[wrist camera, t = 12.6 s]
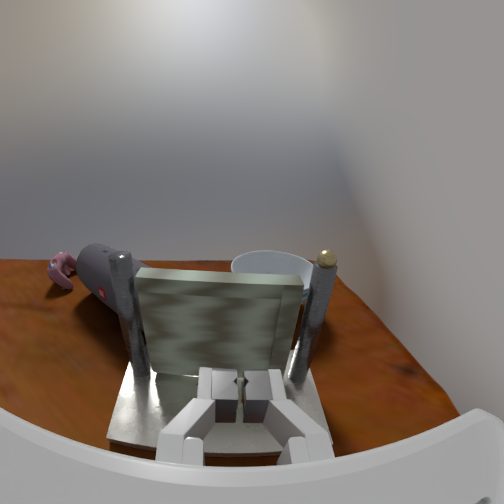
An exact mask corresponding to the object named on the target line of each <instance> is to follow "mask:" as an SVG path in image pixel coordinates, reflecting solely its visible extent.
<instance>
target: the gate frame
mask: <svg viewBox="0 0 504 504" xmlns="http://www.w3.org/2000/svg"><path fill="white" fill-rule="evenodd" d="M108 262H109V268H110V275H111V281H112V287H113V292H114V297H115V303H116V307H117V312H118V317H119V321H120V326H121V330H122V334H123V338H124V342H125V346H126V349H127V353H128V357H129V360H130V362H129V365H128V368H127V371H126V374H125V377H124V380H123V383H122V386H121V389H120V392H119V395H118V399H117V402H116V405H115V408H114V412H113V415H112V419H111V422H110V426H109V429H108V433H107V437H106V438H107V439H108V441H109V442H110V443H114V444H118V445H123V446H128V447H133V448H138V449H144V450H150V451H157V444H158V437H159V432H160V431H162V430H163V429H164V428H165V427H166V426H167V425H168V424H169V423H170V422H171V421H172V420H173V419H174V418H175V417H176V415H177V414H178V413H179V412H180V411H181V410H182V409H183V408H184V407H185V406H186V405H187V404H188V403H189V402H190V401H191V400H192V399H193V398H197V390H198V378H199V376H187V375H176V374H166V373H157V372H153V371H152V366H151V362H150V357H149V353H148V348H147V344H145V342H144V337H143V332H142V326H141V321H140V315H139V309H138V303H137V296H136V289H135V282H134V274H133V265H132V257H131V253H130V252H127V251H117V252H114V253H111V254H110V255H109V256H108ZM336 263H337V257H336V255H335V253H334V252H333V251H331V250H323V251H321V252H320V253H319V254H318V256H317V261H315V262H314V265H313V270H312V275H311V280H310V285H309V289H308V294H307V299H306V303H305V308H304V312H303V317H302V321H301V325H300V329H299V334H298V338H297V342H296V346H295V350H290V353H289V357H288V361H287V365H286V369H285V373H284V377H283V383H284V388H285V393H286V397H287V399H291V400H292V401H293V402H294V403H295V404H296V405H297V406H298V407H299V408H300V409H301V410H303V411H304V412H305V413H306V414H307V415H308V416H309V417H310V418H312V419H313V420H314V421H315V422H316V423H317V424H318V425H320V426H321V427H322V428H323V429H324V430H325V431H327V432H328V435H329V438H330V442H331V445H333V441H332V438H331V435H330V431H329V428H328V425H327V422H326V418H325V415H324V412H323V409H322V405H321V402H320V399H319V396H318V393H317V390H316V386H315V383H314V380H313V377H312V374H311V371H310V368H309V367H310V364H311V361H312V358H313V355H314V352H315V349H316V346H317V342H318V339H319V336H320V332H321V329H322V325H323V322H324V318H325V315H326V311H327V307H328V304H329V300H330V296H331V292H332V288H333V284H334V280H335V276H336V272H337V266H336ZM242 381H243V378H237V386H238V408H237V410H236V412H237V416H236V423H215V425H214V426H213V427H212V429H211V430H210V431H209V433H208V434H207V435H206V437H205V438H204V439H203V446H204V456H208V457H260V456H276V455H281V453H282V451H283V448H282V446H281V445H280V444H279V443H278V442H277V441H276V439H275V438H274V437H273V436H272V435H271V433H270V432H269V431H268V430H267V429H266V427H265V426H264V425H263V423H243V422H242V404H243V403H242V402H241V382H242Z"/></svg>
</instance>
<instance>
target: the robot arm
mask: <svg viewBox="0 0 504 504" xmlns="http://www.w3.org/2000/svg"><path fill="white" fill-rule="evenodd" d="M242 377H243V381H242V382H241V402H242V403H243V404H242V422H243V423H263V425H264V426H265V427H266V429H267V430H268V431H269V432H270V433H271V435H272V436H273V437H274V438H275V439H276V441H277V442H278V443H279V444H280V445H281V446H282V448H283V451H282V453H281V455H280V457H279V459H278V460H277V462H276V463H277V465H276V466H258V467H215V466H205V457H204V446H203V439H204V438H205V437H206V435H207V434H208V433H209V431H210V430H211V429H212V427H213V426H214V425H215V423H236V416H237V412H236V410H237V408H238V386H237V369H221V368H213V370H212V368H207V367H200V369H199V378H198V390H197V398H193V399H192V400H191V401H190V402H189V403H188V404H187V405H186V406H185V407H184V408H183V409H182V410H181V411H180V412H179V413H178V414H177V415H176V417H175V418H174V419H173V420H172V421H171V422H170V423H169V424H168V425H167V426H166V427H165V428H164V429H163V430H162V431H160V432H159V437H158V444H157V451H156V458H155V460H149V459H143V458H138V457H133V456H128V455H124V454H119V453H115V452H111V451H107V450H103V449H100V448H96V447H93V446H89V445H86V444H83V443H80V442H77V441H74V440H71V439H68V438H66V437H63V436H60V435H57V434H55V433H52V432H50V431H47V430H45V429H43V428H40V427H38V426H36V425H34V424H31V423H29V422H27V421H25V420H23V419H21V418H19V417H17V416H15V415H13V414H11V413H9V412H7V411H5V410H4V409H2V408H0V504H504V423H503V422H502V421H501V420H500V419H499V418H498V417H496V416H494V415H492V414H490V413H488V412H486V411H484V410H481V409H473V410H471V411H469V412H467V413H465V414H464V415H461V416H459V417H457V418H455V419H453V420H451V421H449V422H447V423H445V424H442V425H440V426H438V427H435V428H433V429H430V430H428V431H426V432H423V433H420V434H418V435H415V436H412V437H410V438H407V439H404V440H401V441H398V442H395V443H392V444H388V445H385V446H382V447H378V448H375V449H371V450H367V451H363V452H359V453H355V454H350V455H346V456H341V457H336V458H335V456H334V452H333V449H332V445H331V442H330V438H329V435H328V432H327V431H325V430H324V429H323V428H322V427H321V426H320V425H318V424H317V423H316V422H315V421H314V420H313V419H312V418H310V417H309V416H308V415H307V414H306V413H305V412H304V411H303V410H301V409H300V408H299V407H298V406H297V405H296V404H295V403H294V402H293V401H292V400H291V399H287V397H286V393H285V388H284V383H283V379H282V374H281V370H280V369H268V370H267V369H243V374H242Z"/></svg>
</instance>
